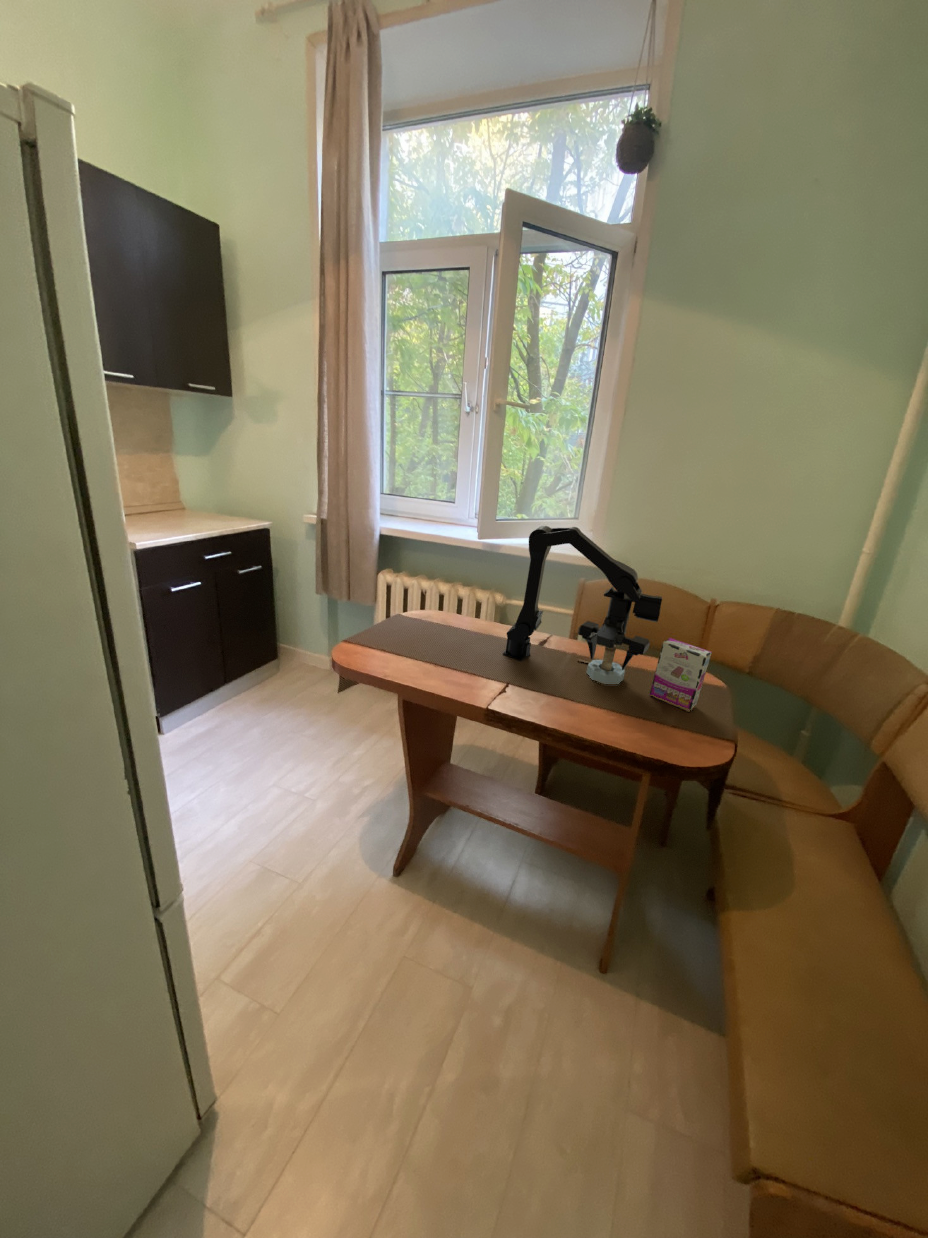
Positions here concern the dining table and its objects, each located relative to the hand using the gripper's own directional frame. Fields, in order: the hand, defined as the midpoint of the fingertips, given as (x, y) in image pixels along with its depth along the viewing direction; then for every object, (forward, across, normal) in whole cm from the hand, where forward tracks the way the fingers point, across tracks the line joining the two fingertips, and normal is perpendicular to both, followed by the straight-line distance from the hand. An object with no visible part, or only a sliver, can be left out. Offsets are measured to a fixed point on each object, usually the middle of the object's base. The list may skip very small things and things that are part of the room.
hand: (607, 664), depth 138 cm
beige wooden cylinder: (+4, 0, 0) cm, 4 cm away
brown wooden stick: (+4, -4, +5) cm, 8 cm away
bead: (+4, 0, 0) cm, 4 cm away
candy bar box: (+4, +19, 0) cm, 20 cm away
